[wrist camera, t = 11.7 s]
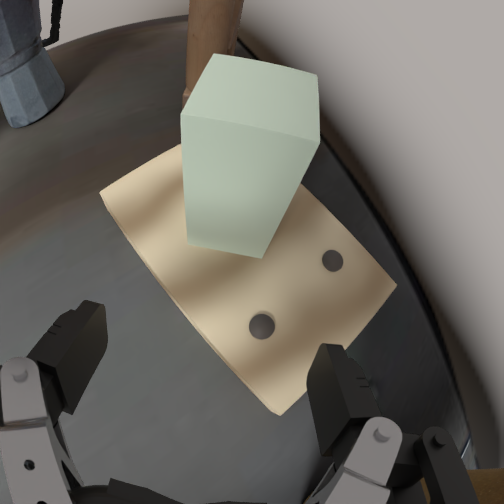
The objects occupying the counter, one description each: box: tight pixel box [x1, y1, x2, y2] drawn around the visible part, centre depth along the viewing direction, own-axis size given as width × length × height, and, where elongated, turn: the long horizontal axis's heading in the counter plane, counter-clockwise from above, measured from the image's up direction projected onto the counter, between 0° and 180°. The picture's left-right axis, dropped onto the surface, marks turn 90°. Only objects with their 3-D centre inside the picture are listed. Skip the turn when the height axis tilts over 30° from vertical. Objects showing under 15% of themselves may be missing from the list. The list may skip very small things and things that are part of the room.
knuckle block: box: [181, 54, 320, 259], centre depth 15 cm, size 5×5×11 cm
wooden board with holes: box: [99, 144, 397, 416], centre depth 19 cm, size 20×13×6 cm, turn 42°
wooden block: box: [183, 0, 244, 109], centre depth 21 cm, size 4×11×18 cm, turn 175°
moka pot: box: [0, 0, 65, 128], centre depth 17 cm, size 10×15×20 cm, turn 93°
